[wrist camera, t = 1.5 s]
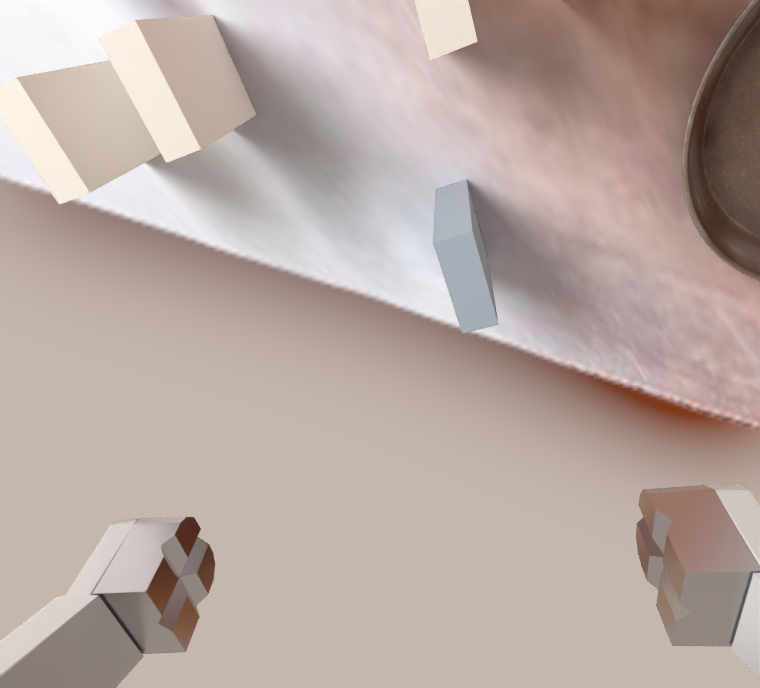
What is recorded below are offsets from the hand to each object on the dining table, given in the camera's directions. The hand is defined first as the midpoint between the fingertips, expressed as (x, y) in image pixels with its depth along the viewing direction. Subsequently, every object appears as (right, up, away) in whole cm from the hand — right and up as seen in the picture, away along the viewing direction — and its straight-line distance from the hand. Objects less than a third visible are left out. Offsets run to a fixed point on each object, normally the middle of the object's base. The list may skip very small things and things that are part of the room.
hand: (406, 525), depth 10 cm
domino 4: (+4, +10, +22) cm, 24 cm away
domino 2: (-9, +18, +19) cm, 27 cm away
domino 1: (-15, +16, +20) cm, 30 cm away
